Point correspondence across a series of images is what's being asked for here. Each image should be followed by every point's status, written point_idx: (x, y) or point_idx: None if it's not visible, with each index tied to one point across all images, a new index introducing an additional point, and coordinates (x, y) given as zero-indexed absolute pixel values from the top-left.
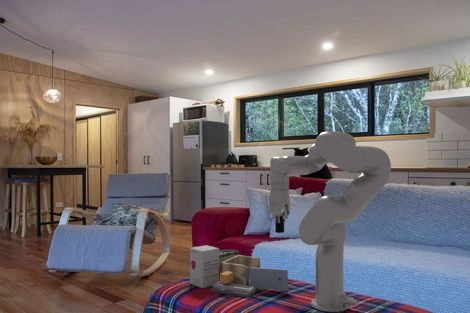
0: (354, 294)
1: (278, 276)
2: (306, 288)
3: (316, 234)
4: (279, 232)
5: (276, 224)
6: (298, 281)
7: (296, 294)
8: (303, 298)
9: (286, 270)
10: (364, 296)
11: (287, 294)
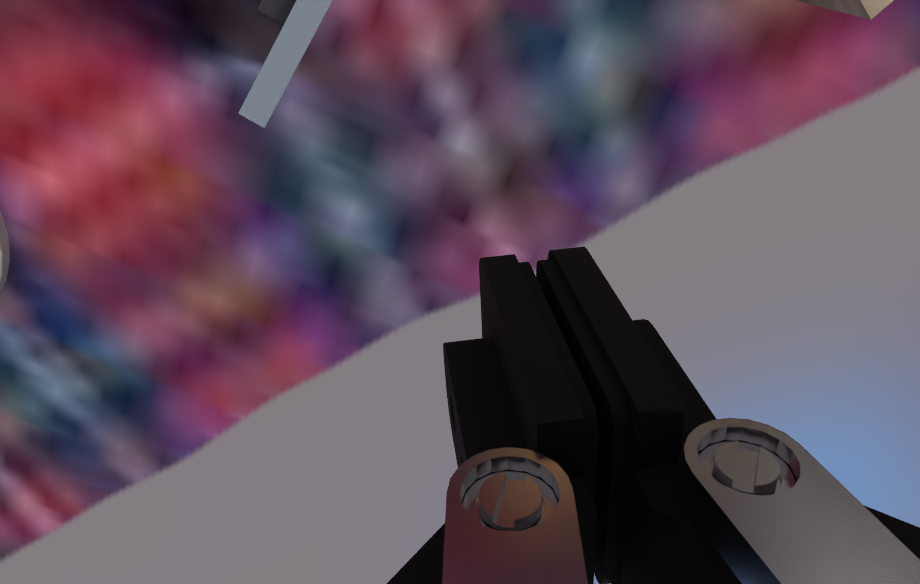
0: (127, 473)
1: (294, 2)
2: (327, 251)
3: None
4: (482, 309)
5: (602, 381)
6: None
7: (188, 106)
8: (70, 114)
9: (245, 102)
10: (79, 504)
11: (201, 26)
